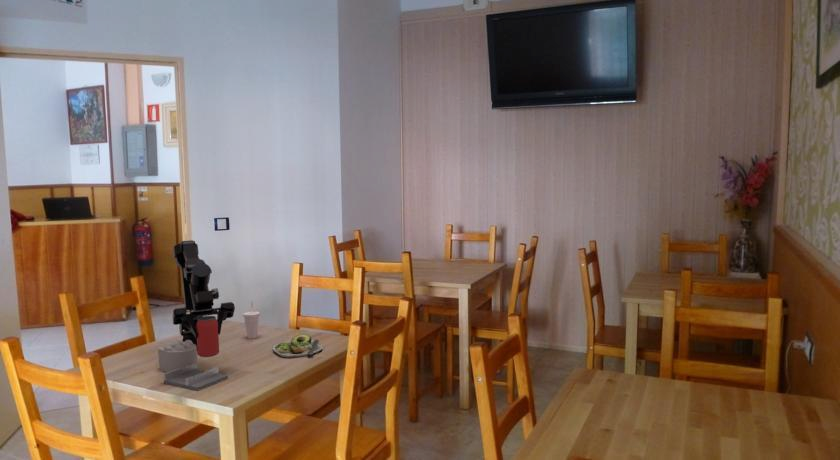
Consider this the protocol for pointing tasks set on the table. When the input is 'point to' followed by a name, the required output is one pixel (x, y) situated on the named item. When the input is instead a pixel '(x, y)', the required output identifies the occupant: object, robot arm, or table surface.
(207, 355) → the beer can
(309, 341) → the salad plate
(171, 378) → the rail board
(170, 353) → the paw print puck
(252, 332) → the smoothie
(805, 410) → the table surface
